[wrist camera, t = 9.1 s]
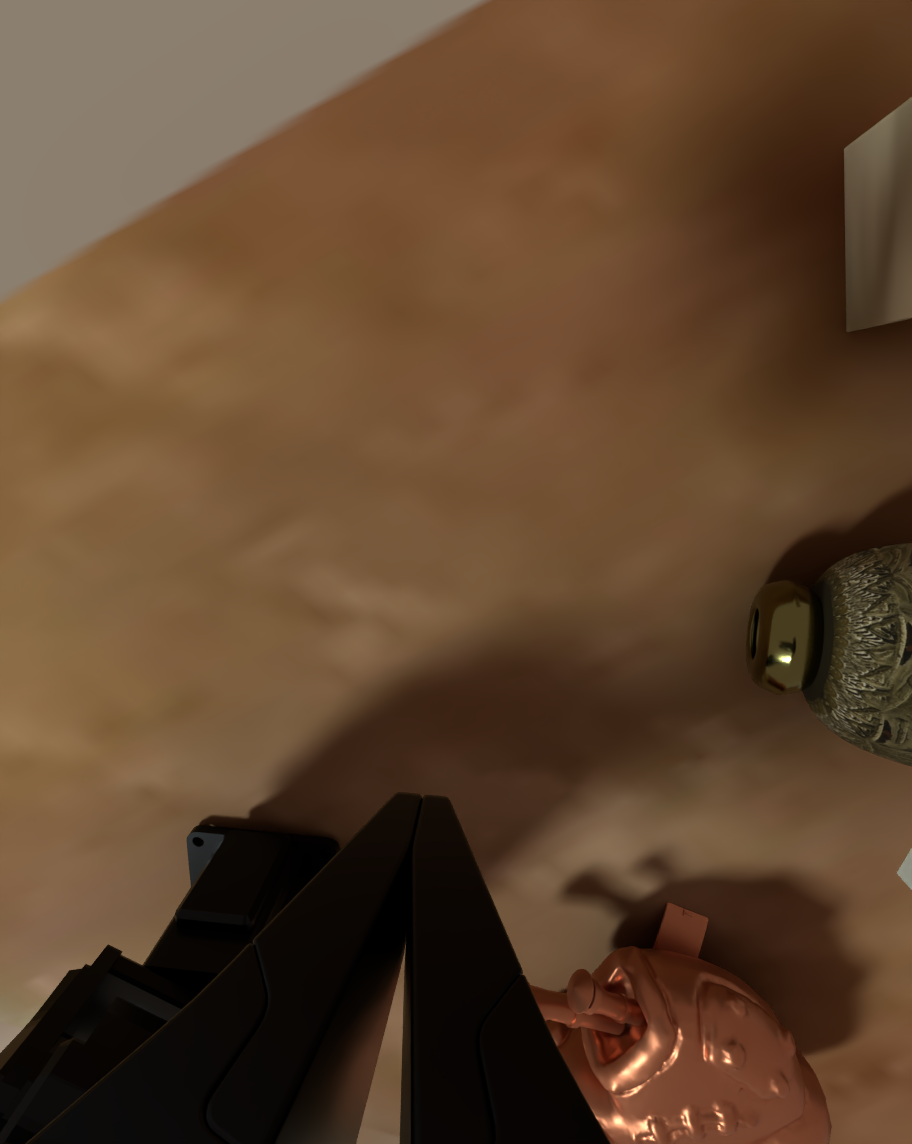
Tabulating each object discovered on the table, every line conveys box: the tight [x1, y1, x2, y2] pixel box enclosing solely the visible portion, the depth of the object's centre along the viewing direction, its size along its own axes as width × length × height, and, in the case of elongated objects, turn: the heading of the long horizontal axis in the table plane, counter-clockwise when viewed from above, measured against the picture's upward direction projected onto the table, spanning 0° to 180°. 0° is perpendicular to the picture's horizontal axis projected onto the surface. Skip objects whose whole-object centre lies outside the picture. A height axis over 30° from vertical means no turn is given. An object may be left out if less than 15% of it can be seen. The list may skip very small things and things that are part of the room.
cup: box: [746, 543, 912, 766], centre depth 17 cm, size 8×7×8 cm
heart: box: [528, 902, 832, 1144], centre depth 23 cm, size 6×12×15 cm
